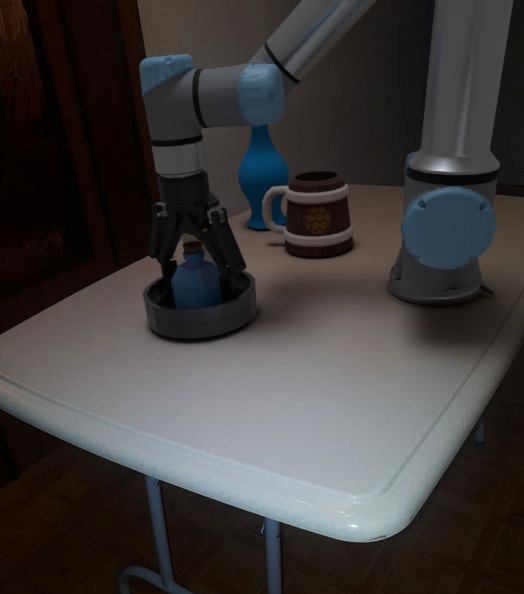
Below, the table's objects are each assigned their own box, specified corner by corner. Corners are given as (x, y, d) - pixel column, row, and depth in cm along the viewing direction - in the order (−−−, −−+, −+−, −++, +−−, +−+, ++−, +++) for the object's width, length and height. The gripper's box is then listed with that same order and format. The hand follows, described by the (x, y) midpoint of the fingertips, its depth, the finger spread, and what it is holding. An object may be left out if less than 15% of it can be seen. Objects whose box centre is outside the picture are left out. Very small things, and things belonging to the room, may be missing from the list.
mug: (360, 236, 124) (360, 167, 116) (345, 261, 112) (344, 185, 104) (276, 233, 130) (271, 168, 123) (253, 256, 118) (246, 185, 111)
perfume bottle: (176, 314, 94) (165, 246, 88) (204, 301, 98) (194, 235, 92) (201, 323, 90) (190, 253, 85) (228, 309, 94) (219, 241, 88)
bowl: (279, 305, 96) (277, 275, 93) (209, 353, 83) (204, 320, 81) (199, 287, 106) (194, 260, 103) (126, 327, 93) (119, 297, 91)
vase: (299, 218, 140) (293, 96, 126) (280, 233, 130) (271, 104, 117) (256, 216, 145) (245, 99, 131) (234, 231, 135) (220, 106, 121)
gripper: (261, 170, 79) (273, 308, 90) (144, 163, 92) (166, 284, 103) (228, 183, 74) (244, 328, 85) (109, 173, 87) (137, 300, 98)
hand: (202, 304), depth 94 cm, fingers open, 12 cm apart
